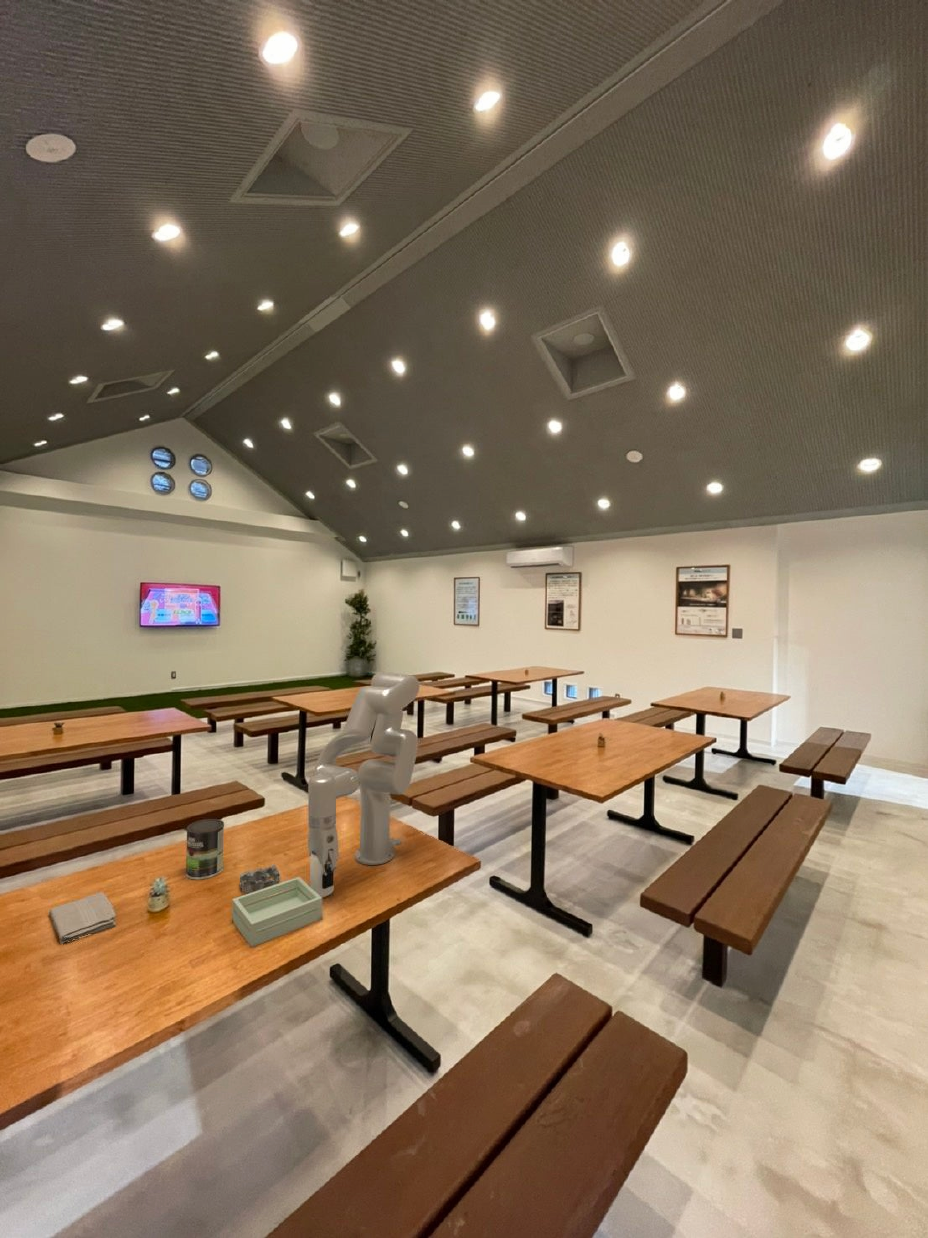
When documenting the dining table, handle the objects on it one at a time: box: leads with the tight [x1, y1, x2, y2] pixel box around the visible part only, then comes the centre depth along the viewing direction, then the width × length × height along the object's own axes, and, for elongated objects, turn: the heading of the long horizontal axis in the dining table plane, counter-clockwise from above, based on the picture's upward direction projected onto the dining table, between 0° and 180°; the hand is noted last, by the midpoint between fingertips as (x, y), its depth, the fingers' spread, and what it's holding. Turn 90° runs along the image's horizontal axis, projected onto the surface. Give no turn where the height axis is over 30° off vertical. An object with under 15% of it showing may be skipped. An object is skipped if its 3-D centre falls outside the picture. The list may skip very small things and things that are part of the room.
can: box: [309, 853, 335, 899], centre depth 149 cm, size 6×6×12 cm
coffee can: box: [185, 818, 225, 881], centre depth 159 cm, size 10×10×14 cm
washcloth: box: [48, 891, 117, 945], centre depth 134 cm, size 12×18×3 cm, turn 47°
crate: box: [231, 876, 323, 948], centre depth 136 cm, size 18×14×6 cm
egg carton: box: [238, 864, 282, 894], centre depth 152 cm, size 11×8×4 cm
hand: (322, 881), depth 149 cm, fingers closed on can, 6 cm apart
